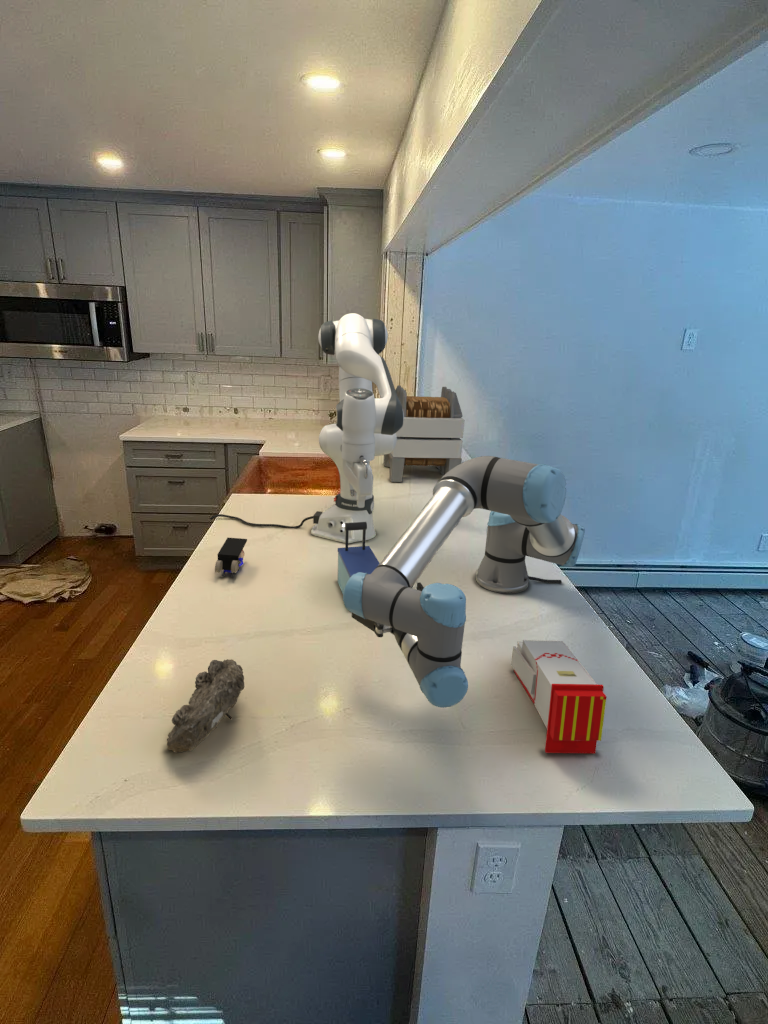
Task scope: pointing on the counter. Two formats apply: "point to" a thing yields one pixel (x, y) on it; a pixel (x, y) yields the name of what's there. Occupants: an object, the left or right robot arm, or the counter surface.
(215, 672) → the fossil
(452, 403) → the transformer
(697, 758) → the counter surface
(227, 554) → the figurine character
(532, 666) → the toy
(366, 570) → the lid
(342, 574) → the chest
